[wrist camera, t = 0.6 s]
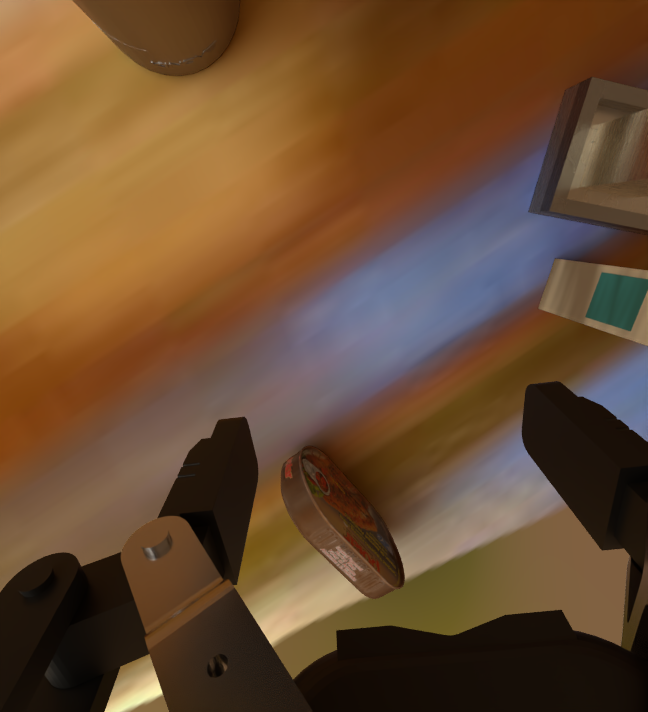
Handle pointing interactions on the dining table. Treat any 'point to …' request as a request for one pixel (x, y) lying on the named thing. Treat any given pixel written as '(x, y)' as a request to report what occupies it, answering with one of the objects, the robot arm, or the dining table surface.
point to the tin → (340, 523)
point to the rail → (598, 158)
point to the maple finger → (599, 297)
